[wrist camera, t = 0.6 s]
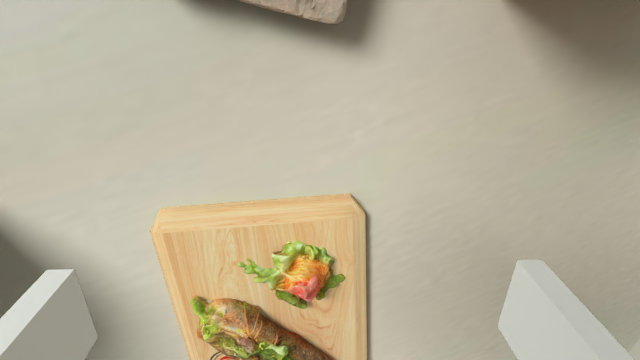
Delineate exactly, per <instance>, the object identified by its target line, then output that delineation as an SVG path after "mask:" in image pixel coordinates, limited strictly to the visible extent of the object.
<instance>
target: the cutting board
mask: <svg viewBox="0 0 640 360" xmlns="http://www.w3.org/2000/svg"><path fill="white" fill-rule="evenodd" d="M150 233H151V236H152V239H153V243H154V246H155V249H156V252H157V255H158V259H159V262H160V265H161V268H162V272H163V275H164V278H165V281H166V284H167V288H168V291H169V294H170V297H171V300H172V304H173V307H174V310H175V313H176V317H177V320H178V323H179V326H180V329H181V333H182V336H183V339H184V342H185V345H186V349H187V352H188V355H189V358H190V360H367V316H366V233H365V212H364V210H363V208H362V207H361V206H360V205H359V204H358V202H357V201H356V200H355V199H354V198H353V196H352V195H351V194H350V193H349V194H336V195H323V196H310V197H297V198H283V199H270V200H257V201H244V202H231V203H218V204H205V205H192V206H179V207H166V208H161V210H160V211H159V213H158V215H157V217H156V219H155V221H154V223H153V226H152V228H151V230H150Z"/></svg>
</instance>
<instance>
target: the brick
mask: <svg viewBox="0 0 640 360" xmlns="http://www.w3.org/2000/svg"><path fill="white" fill-rule="evenodd" d="M238 1H241V2H245V3H248V4H252V5H255V6H258V7H262V8H266V9H269V10H273V11H277V12H281V13H286V14H289V15H294V16H298V17H302V18H305V19H309V20H313V21H318V22H322V23H326V24H338V23H340V22H342V21H343V19H344V17H345V14H346V10H347V0H238Z"/></svg>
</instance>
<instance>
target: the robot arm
mask: <svg viewBox="0 0 640 360" xmlns="http://www.w3.org/2000/svg"><path fill="white" fill-rule="evenodd" d="M498 328H499V329H500V331H501V333H502V334H503V336H504V338H505V339H506V341H507V343H508V344H509V346H510V348H511V349H512V351H513V353H514V354H515V356H516V358H517V359H518V360H634V358H633V357H632V356H631V355H630V354H629V353H628V352H627V351H626V350H625V349H624V348H623V347H622V346H621V344H620V343H619V342H618V341H617V340H616V339H615V338H614V337H613V336H612V335H611V334H610V333H609V332H608V330H607V329H606V328H605V327H604V326H603V325H602V324H601V323H600V322H599V321H598V320H597V319H596V318H595V316H594V315H593V314H592V313H591V312H590V311H589V310H588V309H587V308H586V307H585V306H584V305H583V304H582V302H581V301H580V300H579V299H578V298H577V297H576V296H575V295H574V294H573V293H572V292H571V291H570V290H569V288H568V287H567V286H566V285H565V284H564V283H563V282H562V281H561V280H560V279H559V278H558V277H557V276H556V274H555V273H554V272H553V271H552V270H551V269H550V268H549V267H548V266H547V265H546V264H545V263H544V262H543V260H517V263H516V266H515V269H514V273H513V276H512V279H511V283H510V286H509V289H508V292H507V296H506V299H505V302H504V306H503V309H502V312H501V316H500V319H499V322H498ZM97 339H98V335H97V332H96V330H95V327H94V324H93V321H92V318H91V315H90V313H89V310H88V307H87V304H86V301H85V299H84V296H83V293H82V290H81V287H80V284H79V282H78V279H77V276H76V273H75V270H74V269H61V270H46V271H45V272H44V273H43V274H42V275H41V276H40V277H39V279H38V280H37V281H36V282H35V283H34V284H33V285H32V286H31V287H30V288H29V289H28V290H27V291H26V292H25V293H24V294H23V295H22V296H21V297H20V299H19V300H18V301H17V302H16V303H15V304H14V305H13V306H12V307H11V308H10V309H9V310H8V311H7V312H6V313H5V314H4V315H3V316H2V317H1V318H0V360H85V358H86V357H87V355H88V353H89V352H90V350H91V348H92V347H93V345H94V344H95V342H96V340H97Z"/></svg>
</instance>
